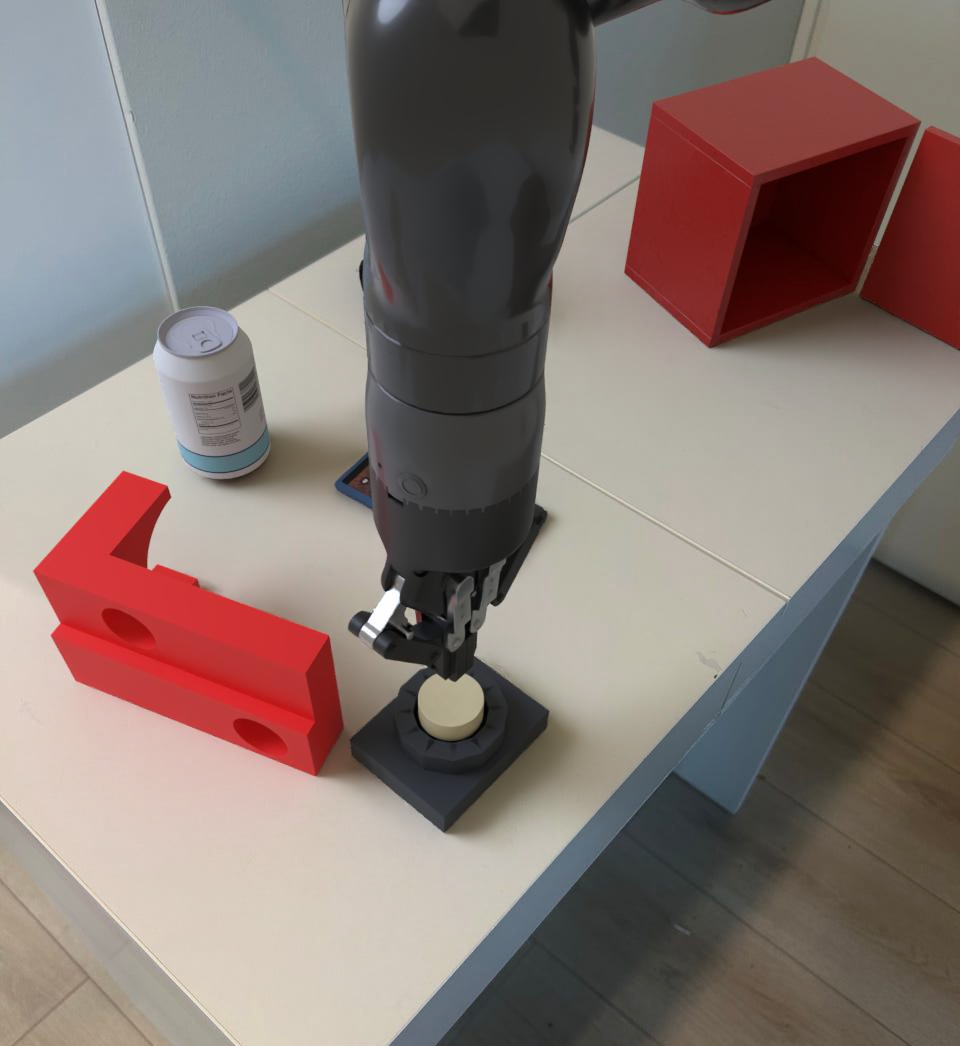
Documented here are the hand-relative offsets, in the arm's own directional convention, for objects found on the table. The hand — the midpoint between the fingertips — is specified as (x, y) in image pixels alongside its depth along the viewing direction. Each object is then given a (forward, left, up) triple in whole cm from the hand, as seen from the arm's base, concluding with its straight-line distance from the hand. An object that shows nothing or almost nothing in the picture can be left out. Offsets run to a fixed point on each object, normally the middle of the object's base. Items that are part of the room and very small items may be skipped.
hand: (450, 666), depth 56 cm
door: (-45, -46, -8) cm, 65 cm away
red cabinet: (-25, -52, -9) cm, 58 cm away
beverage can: (+19, -25, -9) cm, 33 cm away
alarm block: (0, 0, -9) cm, 9 cm away
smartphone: (+2, -21, -9) cm, 23 cm away
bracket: (+15, -5, -9) cm, 18 cm away
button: (0, 0, -5) cm, 5 cm away
